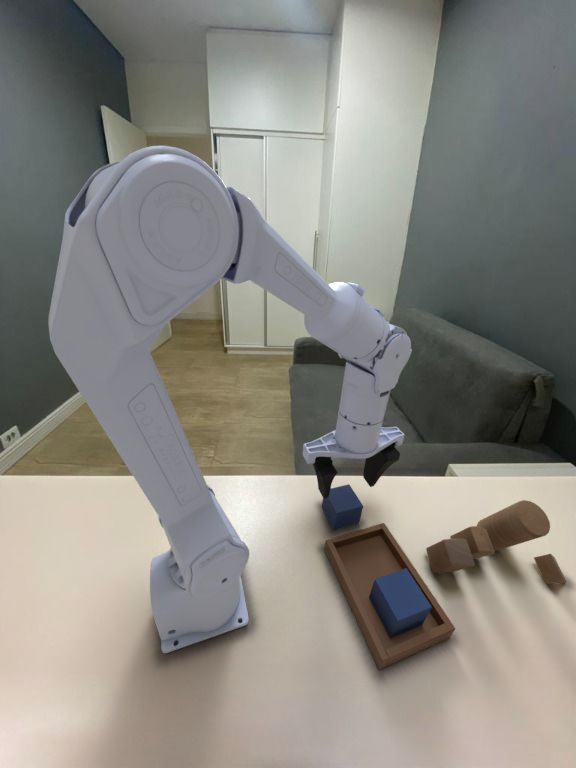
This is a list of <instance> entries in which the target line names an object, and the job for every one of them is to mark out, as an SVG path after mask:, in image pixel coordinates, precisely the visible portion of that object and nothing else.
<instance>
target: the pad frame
mask: <svg viewBox="0 0 576 768" xmlns="http://www.w3.org/2000/svg"><path fill="white" fill-rule="evenodd" d="M323 548H324V551H325V554H326V555H327V558H328V560H329V563H330V565H331V567H332V569H333V571H334V574H335V575H336V578H337V580H338V582H339V584H340V587H341V589H342V591H343V593H344V596H345V598H346V600H347V602H348V604H349V606H350V609H351V611H352V614H353V616H354V618H355V620H356V622H357V624H358V626H359V629H360V631H361V633H362V635H363V637H364V640H365V642H366V644H367V647H368V649H369V651H370V653H371V655H372V657H373V659H374V662H375V664H376V666H377V669H378V670H381V669H383V668H385V667H388V666H390V665H392V664H394V663H397V662H398V661H399V662H400V661H401V660H403V659H405V658H408V657H410V656H412V655H414V654H417V653H419V652H422V651H424V650H425V649H427V648H429V647H432V646H434V645H436V644H438V643H441V642H443V641H445V640H447V639H450V638H451V636H453V633H454V632H455V630H456V626H455V625H454V624H453V623H452V621H451V619H450V618H449V616H448V615H447V613H446V612H445V611H444V609H443V608H442V606H441V605H440V603H439V602H438V600H437V599H436V598H435V596H434V595H433V593H432V591H431V590H430V589H429V587H428V586H427V584H426V583H425V581H424V579H423V578H422V576H421V575H420V574H419V573H418V571H417V569H416V568H415V566H414V565H413V564H412V562H411V561H410V559H409V557H408V555H406V553H405V552H404V550H403V548H402V547H401V546H400V544H399V543H398V541H397V540H396V538H395V537H394V535H393V534H392V532H391V531H390V529H389V528H388V527H387V525H386V523H385V522H382V523H379V524H378V523H377V524H376V525H371V526H368V527H365V528H361V529H358V530H354V531H350V532H348V533H344V534H341V535H337V536H335V537H334V536H333V537H330V538H326V539H325V543H324V547H323ZM405 568H407V570H408V571H409V573H410V574H411V576H412V578H413V579H414V581H415V582H416V584H417V585H418V587H419V588H420V590H421V591H422V593H423V594H424V596H425V597H426V599H427V600H428V602H429V604H430V605H431V607H432V608H431V609H430V611H429V613H428V615H427V617H426V619H425V621H424V623H423V625H421V626H418V627H416V628H414V629H411V630H409V631H407V632H404V633H402V634H399V635H397V636H395V637H392V638H390V637H389V635H388V633H387V631H386V629H385V627H384V626H383V624H382V622H381V620H380V618H379V616H378V614H377V612H376V610H375V608H374V606H373V604H372V602H371V600H370V598H369V595H370V592H371V589H372V586H373V583H374V580H375V579H377V578H379V577H382V576H385V575H388V574H391V573H394V572H397V571H399V570H402V569H405Z"/></svg>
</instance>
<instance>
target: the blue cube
mask: <svg viewBox="0 0 576 768" xmlns="http://www.w3.org/2000/svg"><path fill="white" fill-rule="evenodd" d="M369 598H370V600H371V602H372V604H373V606H374V608H375V610H376V612H377V614H378V616H379V618H380V620H381V622H382V624H383V626H384V627H385V629H386V631H387V633H388V635H389V637H390V638H392V637H395V636H397V635H399V634H402V633H404V632H407V631H409V630H411V629H414V628H416V627H418V626H421V625H423V623H424V621H425V619H426V617H427V615H428V613H429V611H430V609H431V608H432V607H431V605H430V604H429V602H428V600H427V599H426V597H425V596H424V594H423V593H422V591H421V590H420V588H419V587H418V585H417V584H416V582H415V581H414V579H413V578H412V576H411V574H410V573H409V571H408V570H407V568H405V569H402V570H399V571H397V572H394V573H391V574H388V575H385V576H382V577H379V578H377V579H375V580H374V583H373V586H372V589H371V592H370V595H369Z"/></svg>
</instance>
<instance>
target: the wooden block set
mask: <svg viewBox="0 0 576 768" xmlns="http://www.w3.org/2000/svg"><path fill="white" fill-rule="evenodd" d="M550 530H551V521H550V520H549V517H548V515H547V514H546V512H545V510H543V509H542V507H541V506H539V505H538V504H536V503H535V502H532V501H531V500H527V499H526V500H524V499H523V500H519V501H517V502H515V503H513V504H511V505H509V506H507V507H504V508H502V509H499V511H497V512H494V513H493V514H490V515H488V516H486V517H484V518H482V519H480V520H479V521H478V522H477V524H476V525H475V526H474V525H473V526H471V525H470V526H468V527H467V528H464V529H462V530H460V531H458V532H456V533H454V534H451V535H450V536H449V538H446V539H445V538H444V539H442V540H440V541H438V542H436V543H434V544H432V545H430V546H428V547H426V549H425V550H426V554H427V558H428V561H429V565H430V568H431V571H432V573H434V574H436V573H437V574H438V573H453V572H454V573H455V572H458V571H462V570H465V569H468V568H473V567H475V565H476V563H475V560H476V559H480V558H484V557H487V556H490V555H493V554H495V551H501V550H503V549H508V548H510V547H513V546H517V545H521V544H523V543H526V542H530V541H533V540H536V539H539V538H542V537H545V536H547V535H548V534H549V533H550ZM474 559H475V560H474ZM533 559H534V562H535V564H536V566H537V568H538V570H539V573H540V574H541V577H542V579H543V581H544V584H564V583H567V580H566V578H565V576H564V573H563V571H562V569H561V567H560V566H559V563H558V561H557V559H556V557H555V556H554V555H553V554H552V553H547V554H543V555H538V556H534V557H533Z"/></svg>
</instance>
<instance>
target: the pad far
mask: <svg viewBox="0 0 576 768" xmlns="http://www.w3.org/2000/svg"><path fill="white" fill-rule="evenodd" d="M321 509H322V511H323V513H324V514H325V517H326V519H327V520H328V523H329V524H330V527H331V529H332V530H333V531H337V530H341V529H344V528H347V527H351V526H355V525H359V524H360V523H361V519H362V518H361V517H362V513H363V509H364V505H363V503H362V502H361V500H360V499H359V497H358V495H357V493H356V492H355V491H354V489H353V488H352V486H351V485H350V484H344V485H340V486H335V487H331V489H330V494H329V497H328V498H323V497H322V502H321Z"/></svg>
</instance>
